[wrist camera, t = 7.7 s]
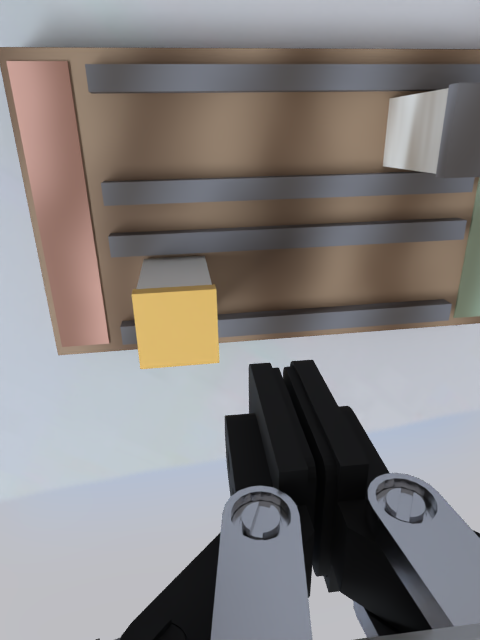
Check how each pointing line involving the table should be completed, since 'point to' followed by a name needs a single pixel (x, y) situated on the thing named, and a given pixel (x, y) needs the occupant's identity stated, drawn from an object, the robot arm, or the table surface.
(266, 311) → the board
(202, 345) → the block
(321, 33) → the table surface
